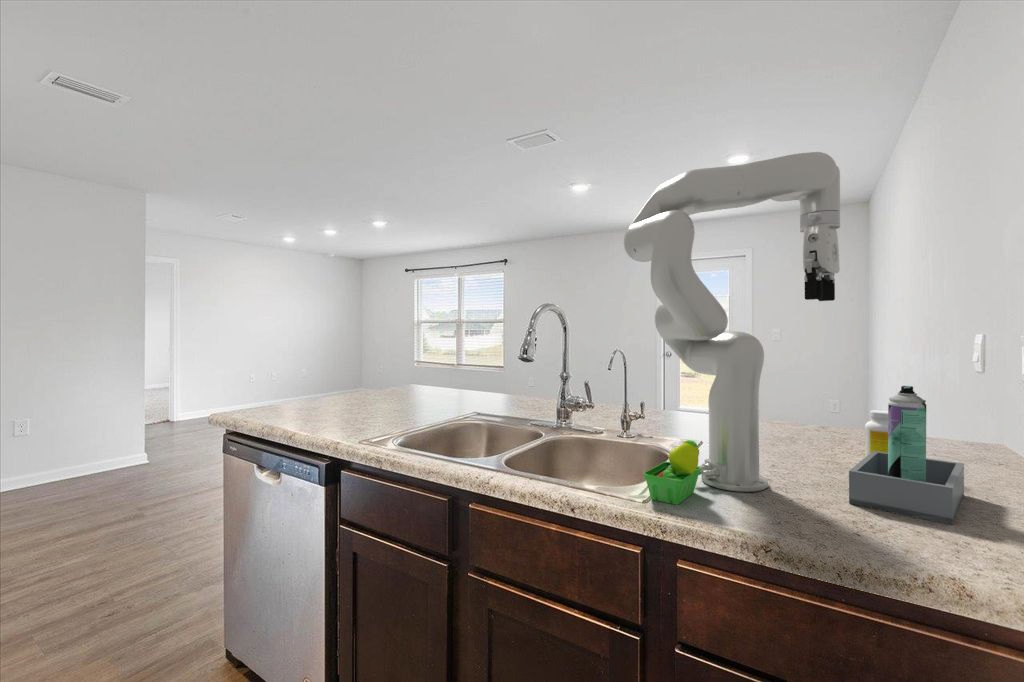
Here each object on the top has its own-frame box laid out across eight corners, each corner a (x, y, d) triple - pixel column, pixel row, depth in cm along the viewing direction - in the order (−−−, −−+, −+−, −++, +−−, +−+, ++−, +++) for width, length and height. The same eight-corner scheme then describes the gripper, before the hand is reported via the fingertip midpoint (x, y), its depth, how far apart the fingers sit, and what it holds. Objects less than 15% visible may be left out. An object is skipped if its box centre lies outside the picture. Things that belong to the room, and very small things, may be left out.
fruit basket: (665, 484, 101) (664, 431, 100) (708, 493, 95) (708, 436, 95) (641, 500, 92) (641, 441, 92) (688, 510, 86) (688, 447, 86)
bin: (952, 525, 78) (952, 488, 78) (849, 503, 88) (848, 470, 88) (963, 494, 92) (963, 463, 91) (873, 479, 102) (873, 450, 102)
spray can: (919, 490, 91) (920, 385, 91) (930, 500, 86) (931, 388, 86) (884, 487, 94) (884, 384, 93) (892, 495, 89) (893, 387, 88)
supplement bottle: (908, 472, 106) (908, 414, 106) (874, 471, 107) (874, 413, 107) (891, 464, 112) (891, 409, 112) (859, 463, 114) (859, 409, 113)
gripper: (828, 213, 99) (828, 297, 99) (849, 225, 110) (850, 300, 111) (787, 220, 104) (788, 299, 104) (812, 230, 116) (812, 302, 116)
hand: (820, 300), depth 108 cm, fingers open, 9 cm apart
